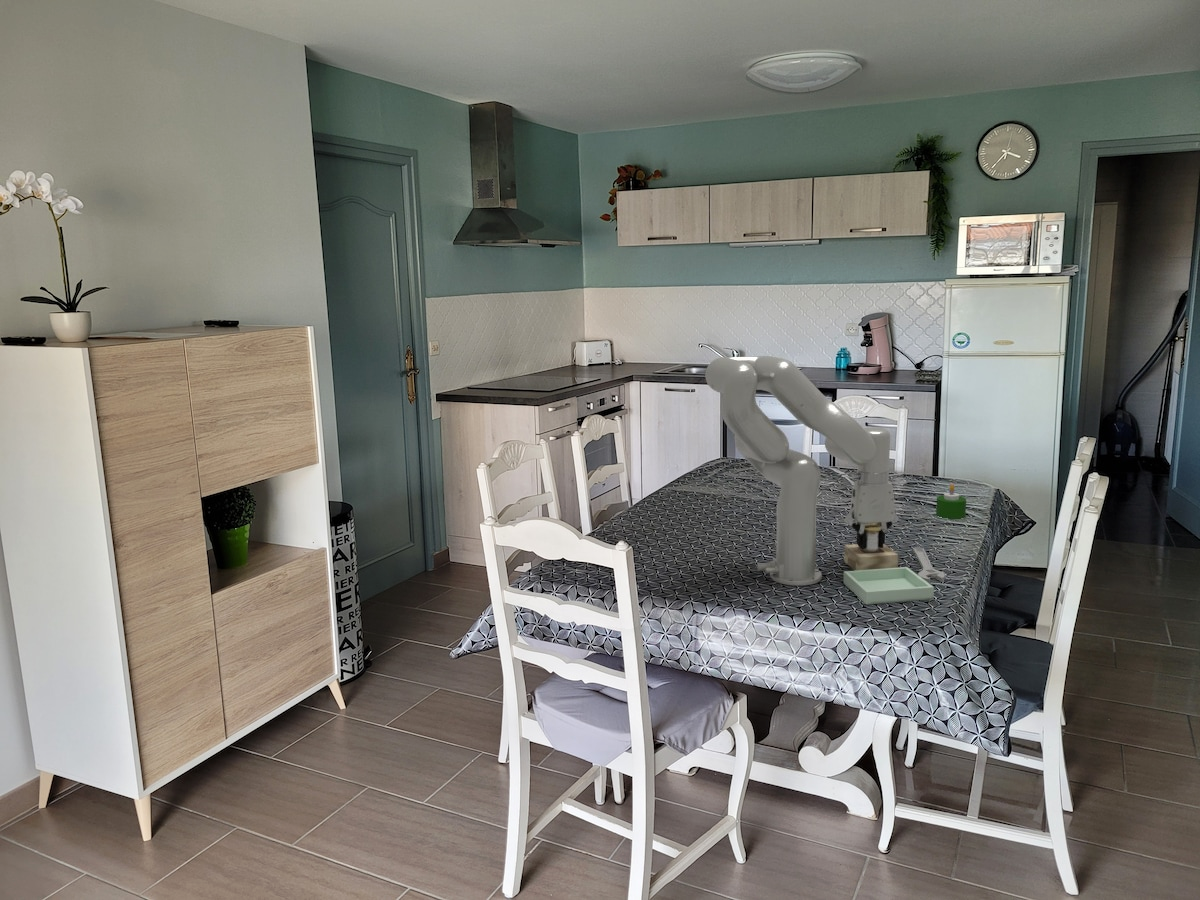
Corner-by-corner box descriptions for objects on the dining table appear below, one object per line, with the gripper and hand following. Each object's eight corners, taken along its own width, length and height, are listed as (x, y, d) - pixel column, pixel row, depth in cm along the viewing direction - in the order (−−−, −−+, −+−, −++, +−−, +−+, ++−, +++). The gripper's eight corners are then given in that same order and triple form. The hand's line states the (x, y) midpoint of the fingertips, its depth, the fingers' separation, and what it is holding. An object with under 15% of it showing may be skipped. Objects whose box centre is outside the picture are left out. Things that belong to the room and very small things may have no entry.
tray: (866, 604, 200) (866, 592, 200) (843, 583, 214) (843, 571, 214) (933, 599, 202) (933, 587, 201) (906, 578, 216) (906, 567, 215)
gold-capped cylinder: (864, 570, 222) (865, 528, 220) (856, 563, 227) (857, 522, 225) (883, 568, 223) (885, 527, 220) (875, 562, 228) (876, 521, 225)
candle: (937, 519, 263) (938, 487, 261) (934, 511, 271) (936, 480, 269) (967, 520, 261) (968, 488, 259) (963, 512, 269) (965, 481, 266)
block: (859, 574, 220) (859, 557, 219) (844, 561, 229) (844, 545, 228) (897, 571, 220) (898, 554, 220) (881, 558, 230) (881, 542, 229)
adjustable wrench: (912, 552, 236) (912, 546, 236) (937, 553, 235) (938, 547, 234) (918, 584, 213) (918, 577, 212) (946, 585, 211) (947, 578, 211)
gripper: (846, 482, 216) (844, 553, 219) (911, 478, 217) (908, 549, 221) (835, 475, 223) (833, 544, 227) (898, 472, 224) (895, 540, 228)
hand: (870, 546), depth 224 cm, fingers closed on gold-capped cylinder, 4 cm apart
